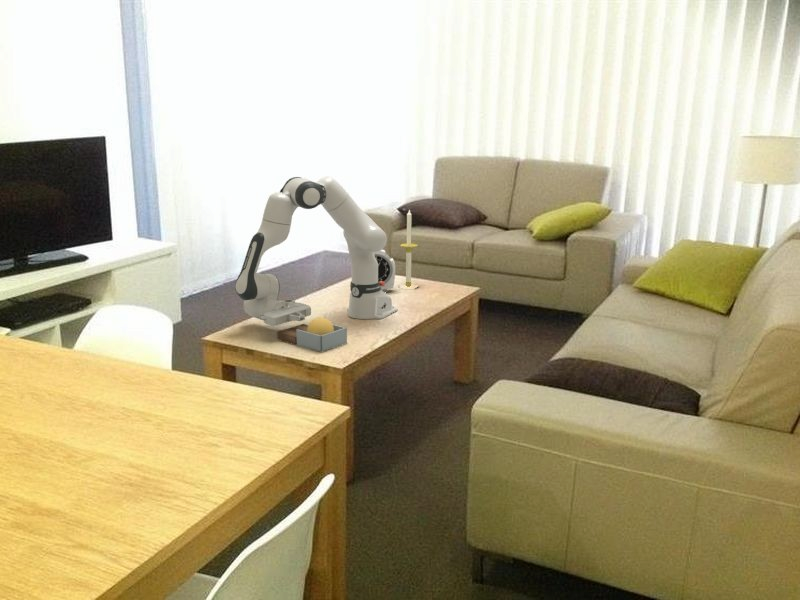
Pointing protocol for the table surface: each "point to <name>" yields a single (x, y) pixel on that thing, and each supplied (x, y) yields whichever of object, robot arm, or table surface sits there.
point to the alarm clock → (385, 269)
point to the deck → (290, 334)
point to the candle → (408, 250)
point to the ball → (320, 326)
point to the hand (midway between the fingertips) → (302, 318)
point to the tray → (322, 339)
